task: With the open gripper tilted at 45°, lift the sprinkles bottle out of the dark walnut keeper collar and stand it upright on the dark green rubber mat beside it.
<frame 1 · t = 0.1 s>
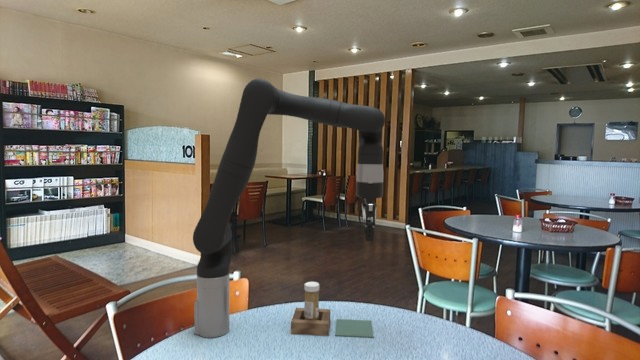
hand: (368, 237, 111), 29 cm above the table, tool pointing down, fingers open, 8 cm apart
sprinkles bottle: (311, 327, 120), resting in keeper collar
keeper collar: (311, 326, 120), on the table
rubber mat: (354, 328, 119), on the table
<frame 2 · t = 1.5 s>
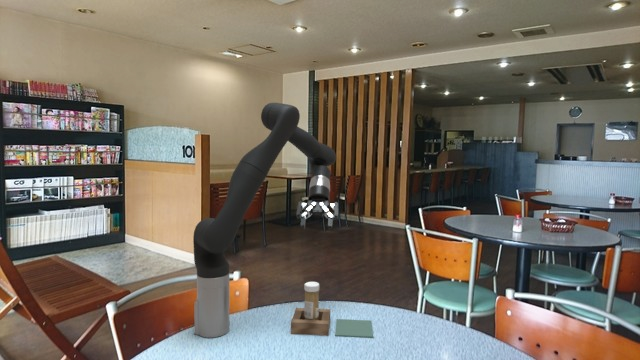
hand: (316, 228, 130), 28 cm above the table, tool tilted 45°, fingers open, 8 cm apart
nothing on the table moved.
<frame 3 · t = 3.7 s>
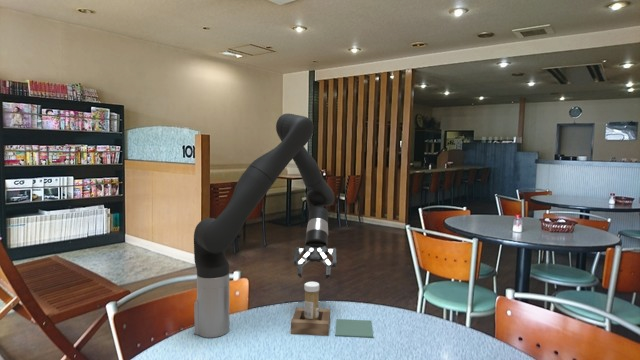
hand: (313, 277, 125), 13 cm above the table, tool tilted 45°, fingers open, 8 cm apart
nothing on the table moved.
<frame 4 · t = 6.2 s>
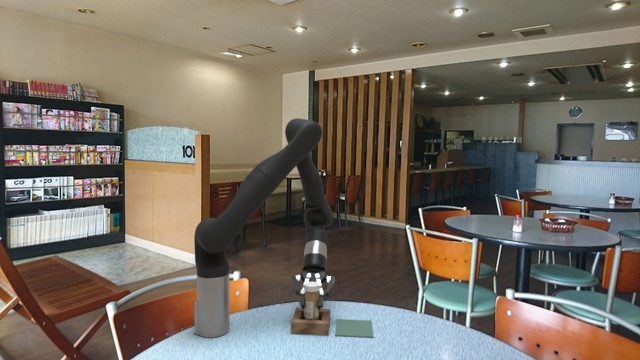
hand: (311, 307, 117), 7 cm above the table, tool tilted 45°, fingers closed on sprinkles bottle, 4 cm apart
sprinkles bottle: (311, 327, 120), resting in keeper collar, touching gripper
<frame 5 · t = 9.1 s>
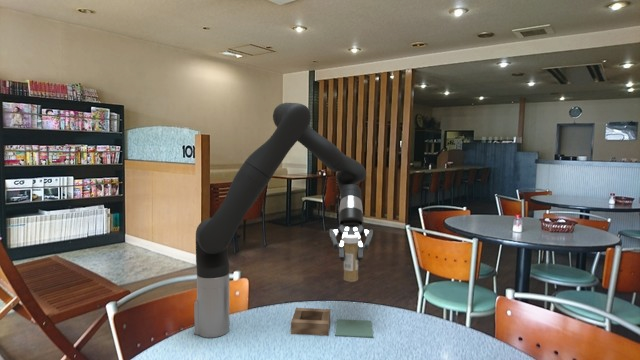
hand: (351, 260, 116), 21 cm above the table, tool tilted 45°, fingers closed on sprinkles bottle, 4 cm apart
sprinkles bottle: (350, 280, 118), point 15 cm above the table, touching gripper
when the fingers open (8 cm above the table, at t = 12.1 s): sprinkles bottle drops 1 cm, resting on rubber mat.
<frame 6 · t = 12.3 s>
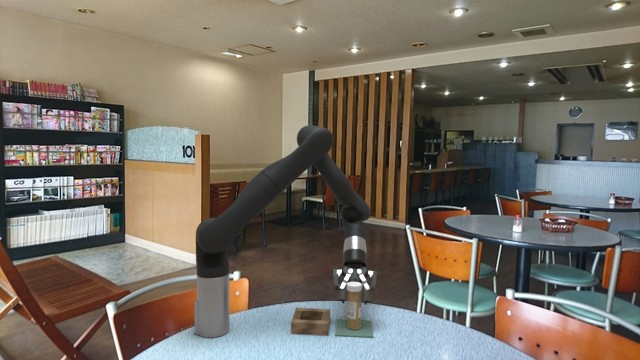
hand: (354, 302, 116), 9 cm above the table, tool tilted 45°, fingers open, 6 cm apart
sprinkles bottle: (353, 327, 119), resting on rubber mat
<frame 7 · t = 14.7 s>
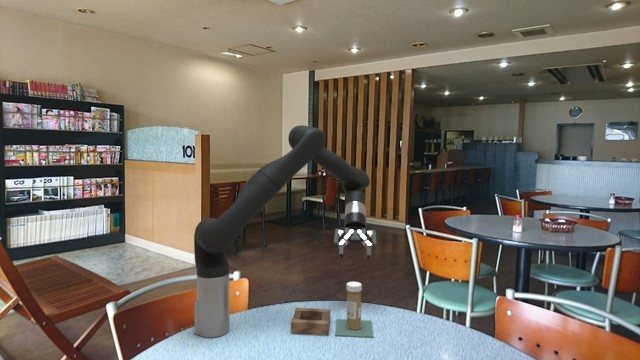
hand: (355, 257, 129), 19 cm above the table, tool tilted 45°, fingers open, 8 cm apart
nothing on the table moved.
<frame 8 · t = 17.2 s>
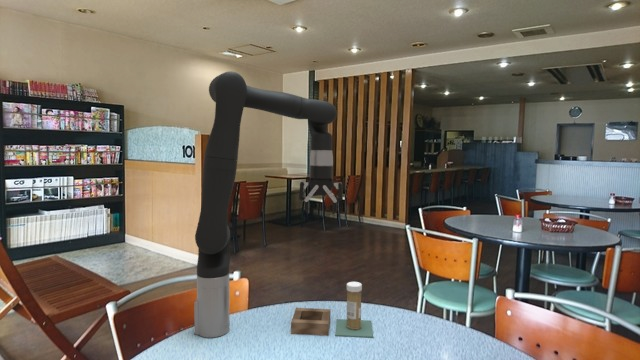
hand: (320, 213, 129), 33 cm above the table, tool pointing down, fingers open, 8 cm apart
nothing on the table moved.
at the end: sprinkles bottle inside the target area on the rubber mat (0.2 cm from its centre), point 0.2 cm above the rubber mat's base; sprinkles bottle tilted 0°; the gripper is holding nothing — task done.
